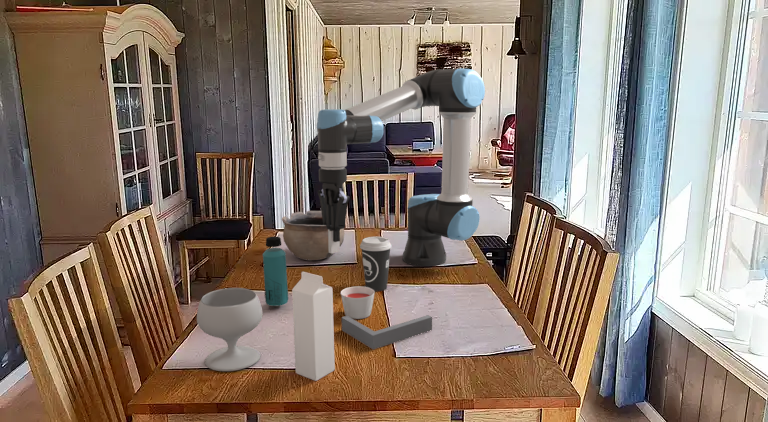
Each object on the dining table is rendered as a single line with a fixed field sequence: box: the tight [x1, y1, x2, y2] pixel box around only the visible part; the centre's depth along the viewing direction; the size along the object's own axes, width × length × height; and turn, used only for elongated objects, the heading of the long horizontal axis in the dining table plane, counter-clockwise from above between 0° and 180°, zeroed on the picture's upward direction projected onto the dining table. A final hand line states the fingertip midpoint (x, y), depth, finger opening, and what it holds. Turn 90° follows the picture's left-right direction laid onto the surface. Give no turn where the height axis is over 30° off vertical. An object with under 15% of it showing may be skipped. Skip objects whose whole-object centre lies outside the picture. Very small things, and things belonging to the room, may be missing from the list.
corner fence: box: [341, 314, 433, 350], centre depth 144 cm, size 18×14×4 cm
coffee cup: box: [359, 236, 392, 292], centre depth 174 cm, size 10×10×15 cm
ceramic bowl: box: [281, 210, 345, 261], centre depth 205 cm, size 22×22×15 cm
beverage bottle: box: [262, 236, 289, 307], centre depth 159 cm, size 6×7×20 cm
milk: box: [291, 271, 336, 382], centre depth 122 cm, size 6×6×22 cm
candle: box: [340, 285, 376, 320], centre depth 154 cm, size 9×9×6 cm
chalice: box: [196, 287, 263, 372], centre depth 128 cm, size 14×14×15 cm
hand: (334, 252), depth 160 cm, fingers closed
